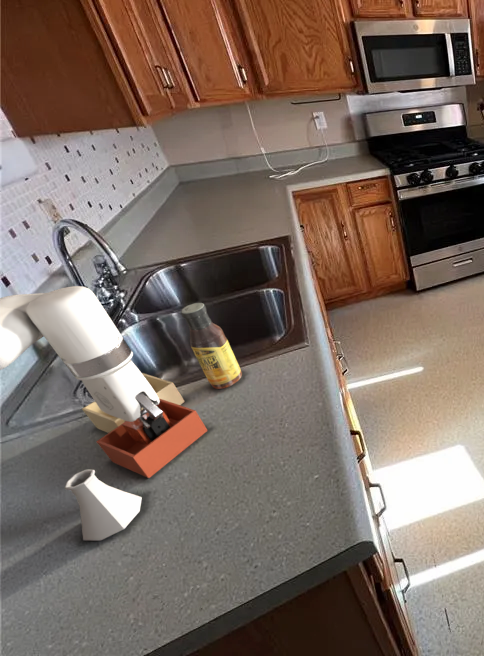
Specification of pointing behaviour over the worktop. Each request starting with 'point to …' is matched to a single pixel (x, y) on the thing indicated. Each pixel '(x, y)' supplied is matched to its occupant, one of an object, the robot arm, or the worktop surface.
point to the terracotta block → (140, 430)
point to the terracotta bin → (159, 450)
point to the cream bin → (163, 391)
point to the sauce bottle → (211, 348)
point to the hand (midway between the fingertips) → (153, 433)
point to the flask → (102, 506)
